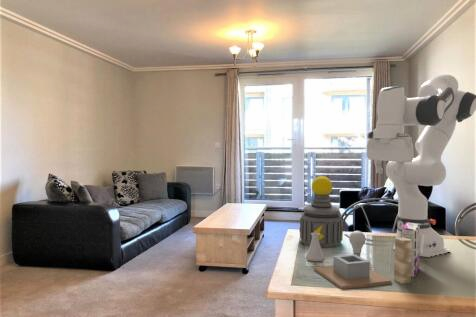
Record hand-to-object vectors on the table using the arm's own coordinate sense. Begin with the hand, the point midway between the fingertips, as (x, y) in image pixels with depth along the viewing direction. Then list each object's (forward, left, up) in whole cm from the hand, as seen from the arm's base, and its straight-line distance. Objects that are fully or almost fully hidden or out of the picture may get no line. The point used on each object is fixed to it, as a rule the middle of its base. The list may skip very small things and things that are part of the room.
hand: (388, 174), depth 128 cm
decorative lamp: (+2, -42, -35) cm, 54 cm away
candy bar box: (-10, 0, -35) cm, 36 cm away
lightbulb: (0, -17, -35) cm, 38 cm away
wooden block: (-1, +7, -35) cm, 35 cm away
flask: (+16, -21, -35) cm, 43 cm away
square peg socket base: (+13, -1, -34) cm, 37 cm away
